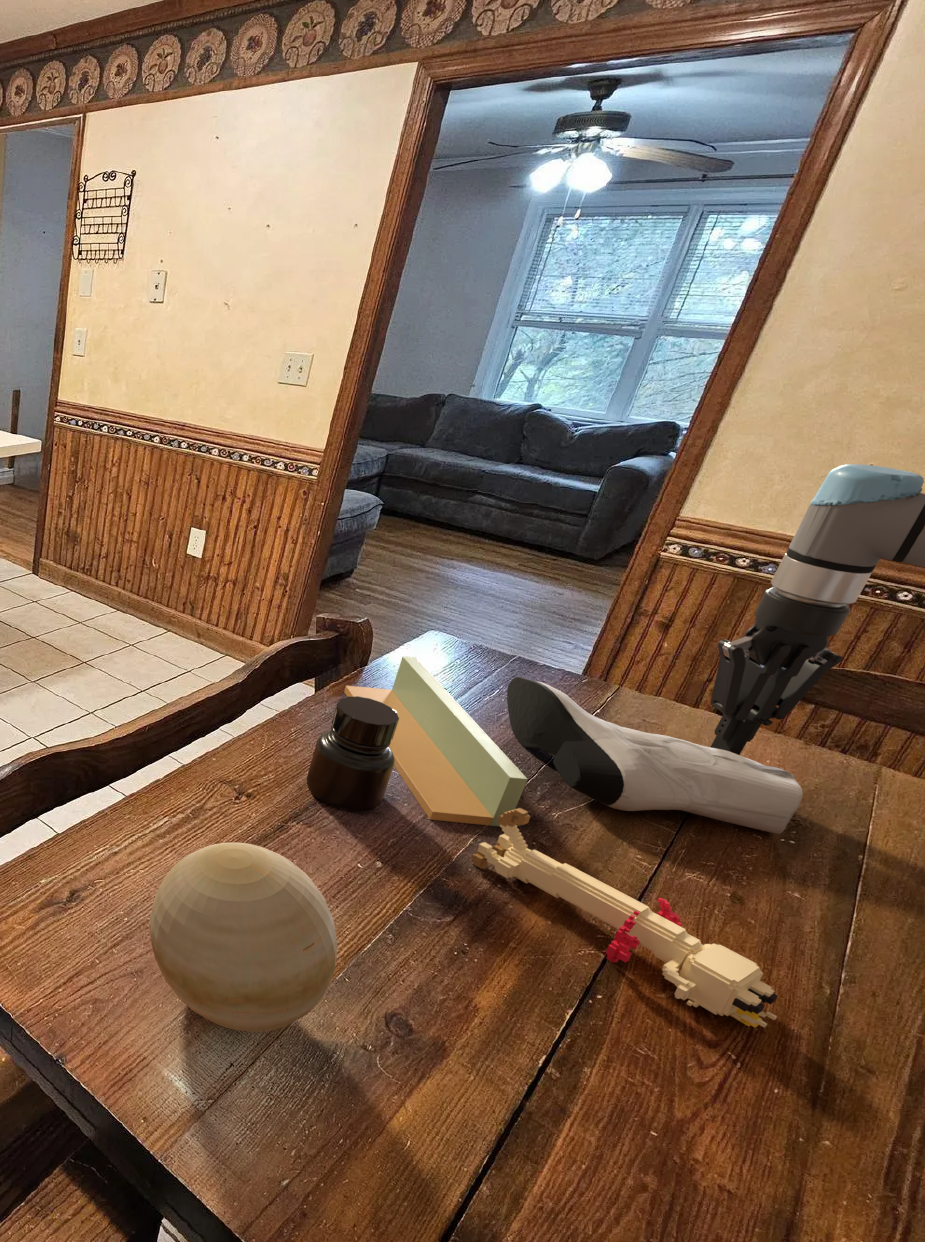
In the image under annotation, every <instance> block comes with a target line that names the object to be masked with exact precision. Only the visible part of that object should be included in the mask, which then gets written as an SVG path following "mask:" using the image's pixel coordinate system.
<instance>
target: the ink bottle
mask: <svg viewBox="0 0 925 1242" xmlns="http://www.w3.org/2000/svg"><path fill="white" fill-rule="evenodd" d="M398 721H399V717H398V714H397V712H395V711H394V710H393V709H392V708H391V707H389V706H387V705H385V704H383V703H382V702H379V701H376V700H373V699H370V698H364V697H359V696H356V697H349V696H348V697H347V696H345V697H341V698H340V699H339V700H338V701H337V702H336V706H335V710H334V712H333V717H332V719H331V725H330V729H328V730H326V731H324V732H323V733H321V734H320V735H319V737H318V738H317V741H316V743H315V747H314V751H313V753H312V757H311V761H310V764H309V768H308V771H307V775H306V784H307V788H308V789H309V791H310V792H311V794H312V795H313V796H315V797H316V798H317V799H318V800H319V801H321V802H323V803H325V804H327V805H329V806H332V807H335V808H337V809H341V810H345V811H350V812H354V813H368V812H372V811H374V810H376V809H378V808H379V807H380V806H381V805H382V802H383V799H384V796H385V794H386V790H387V788H388V784H389V782H390V778H391V776H392V772H393V769H394V768H395V767H394V763H395V758H394V755H393V752H392V751H391V749H390V748H389V746H390V744H391V740H392V739H393V736H394V733H395V730H396V727H397V724H398Z"/></svg>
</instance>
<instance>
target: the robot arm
mask: <svg viewBox="0 0 925 1242" xmlns="http://www.w3.org/2000/svg"><path fill="white" fill-rule="evenodd" d="M924 483H925V479H924V477H923V476H922V475H921V474H919V473H916V472H913V471H908V470H902V469H896V468H893V467H886V466H878V465H871V464H859V463H858V464H857V463H848V464H841V465H839V466H837V467H835V468H833V469H831V470H830V471H829V472H828V474H827V475H826V477H825V478H824V480H823V482H822V484H821V486H820V487H819V489H818V490H817V492H816V494H815V496H814V497H813V499H812V500H811V501H810V504H809V506H808V508H807V509H806V512H805V513H804V516H803V517H802V519H801V522H800V524H799V526H798V528H797V530H796V532H795V534H794V535H793V537H792V540H791V542H790V544H789V545H788V548H787V550H786V552H785V554H784V556H783V557H782V559H781V561H780V563H779V565H778V567H777V569H776V571H775V572H774V575H773V577H772V578H771V581H770V585H772V587H770V588H769V589H766V590H765V591H764V593H763V595H762V597H761V599H760V602H759V603H758V605H757V607H756V609H755V611H754V617H755V622H754V624H752V626H751V627H749V628H748V629H747V630H746V631H745V632H744V635H743V637H740V638H737V639H735V640H732V641H730V640H728V639H724V638H723V639H721V640H719V641H718V643H717V648H718V652H719V655H720V657H719V661H718V665H717V669H716V670H717V671H716V675H715V681H714V685H713V688H712V694H711V699H710V705H711V706H712V707H713V708H715V709H717V710H718V711H719V712H721V713H722V716H721V717H720V719H719V721H718V723H717V725H716V727H715V728H714V735H716V736H715V738H714V740H713V742H712V743H711V745H710V746H709V747H710V748H716V749H722V750H726V751H729V752H732V753H735V754H737V755H740V756H741V753H742V752H743V750H744V748H745V746H746V744H748V743H750V742H751V741H753V740H754V738H755V736H756V734H757V732H758V731H759V729H760V727H761V726H766V727H768V726H771V725H772V724H773V723H774V721H772V720H771V719H776V720H783V719H785V718H786V717H787V716H788V714H789V713H791V712H792V710H793V709H794V708H795V707H796V706H797V705H798V704H799V702H800V701H801V700H802V699H803V698H804V697H805V696H806V695H807V693H808V692H809V691H810V690H811V689H812V688H813V687H814V686H815V685H816V683H817V682H818V681H819V680H820V679H821V678H822V677H823V676H824V675H825V674H826V673H827V672H828V671H830V670H831V669H833V668H834V667H836V666H837V665H839V664H840V663H841V662H842V661H843V657H842V656H841V655H839V654H838V653H836V652H834V651H831V649H830V648H829V647H828V646H829V637H832V636H835V635H836V634H838V633H839V632H840V630H841V628H842V627H843V625H844V622H845V621H846V619H847V617H848V615H849V614H850V612H851V608H850V606H849V605H851V604H854V603H856V602H857V600H858V598H859V597H860V595H861V593H862V591H863V590H864V588H865V586H866V584H867V582H868V581H869V579H870V577H871V575H872V574H873V572H874V570H875V568H876V566H877V564H878V563H879V561H880V560H882V559H883V560H888V561H892V562H896V563H902V564H906V565H907V564H909V565H913V566H917V567H923V568H925V493H923V492H922V491H923V486H924ZM777 706H778V707H777Z"/></svg>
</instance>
